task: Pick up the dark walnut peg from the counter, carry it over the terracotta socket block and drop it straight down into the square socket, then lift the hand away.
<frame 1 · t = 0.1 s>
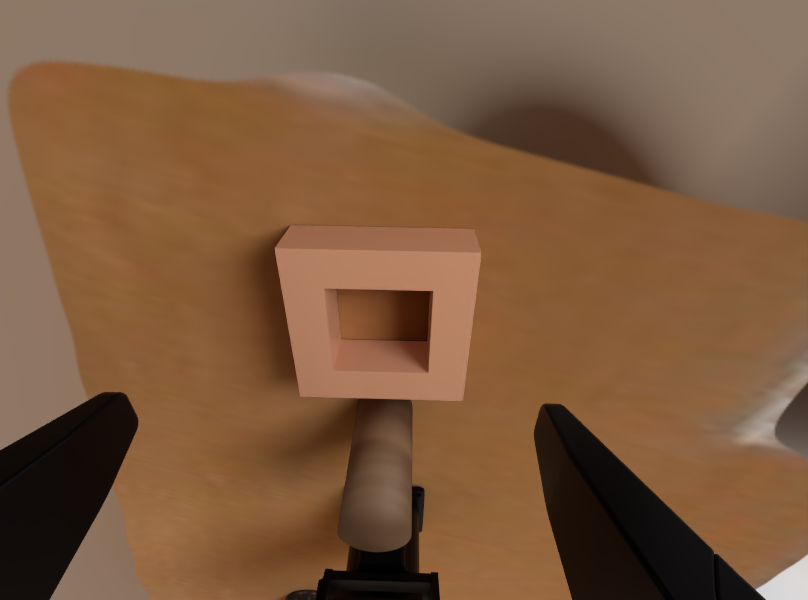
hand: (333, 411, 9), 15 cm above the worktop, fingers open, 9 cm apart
deodorant: (311, 599, 47), on the worktop
socket block: (383, 304, 25), on the worktop
peg: (385, 407, 29), on the worktop
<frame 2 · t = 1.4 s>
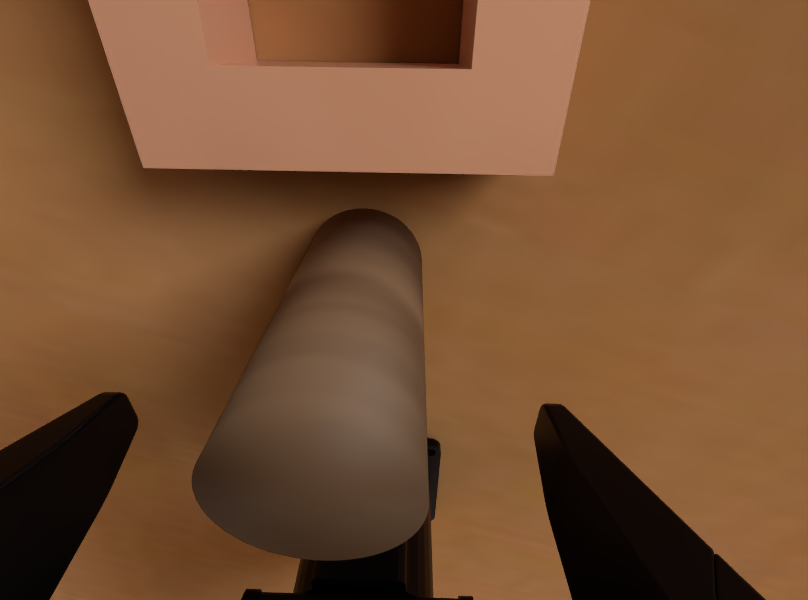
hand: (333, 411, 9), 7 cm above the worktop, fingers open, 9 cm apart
peg: (366, 262, 14), on the worktop
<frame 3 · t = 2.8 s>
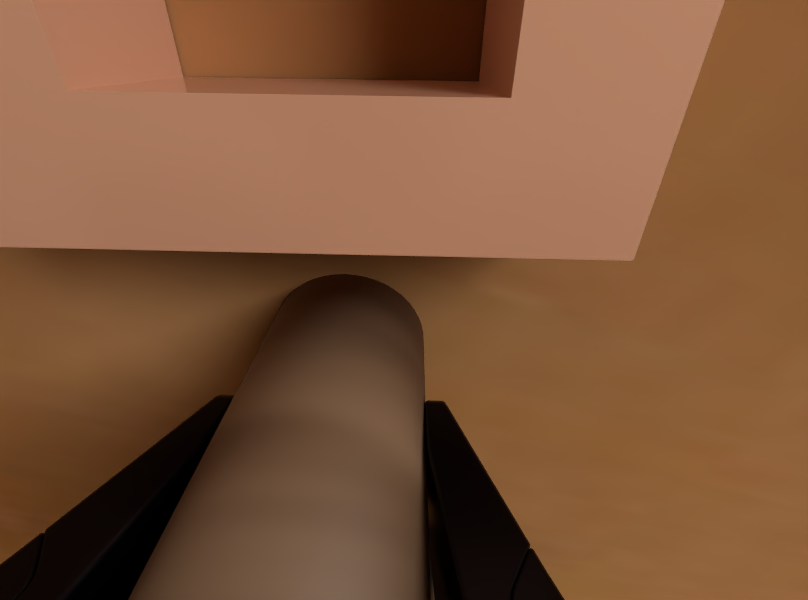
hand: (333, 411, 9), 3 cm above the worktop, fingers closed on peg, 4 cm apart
peg: (349, 339, 11), on the worktop, touching gripper
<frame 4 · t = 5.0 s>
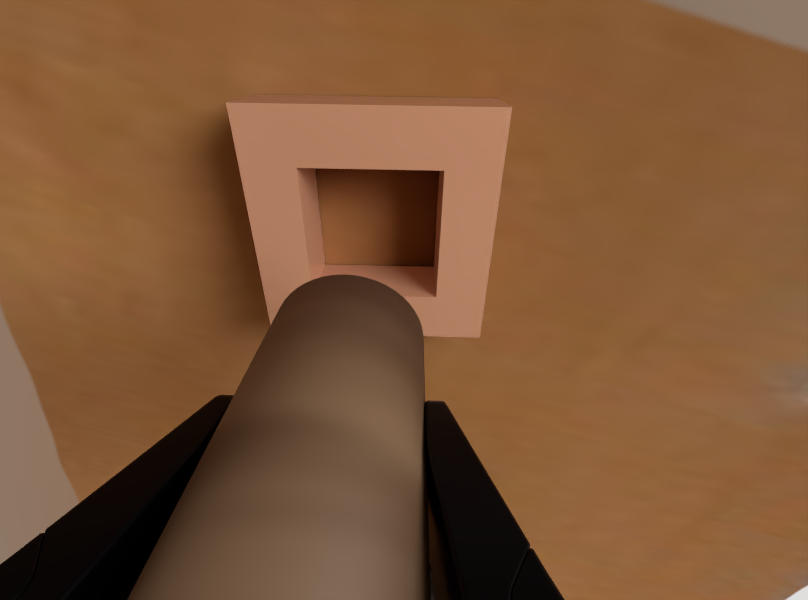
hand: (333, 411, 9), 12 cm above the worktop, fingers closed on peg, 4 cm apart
socket block: (378, 213, 19), on the worktop
peg: (349, 339, 11), point 10 cm above the worktop, touching gripper
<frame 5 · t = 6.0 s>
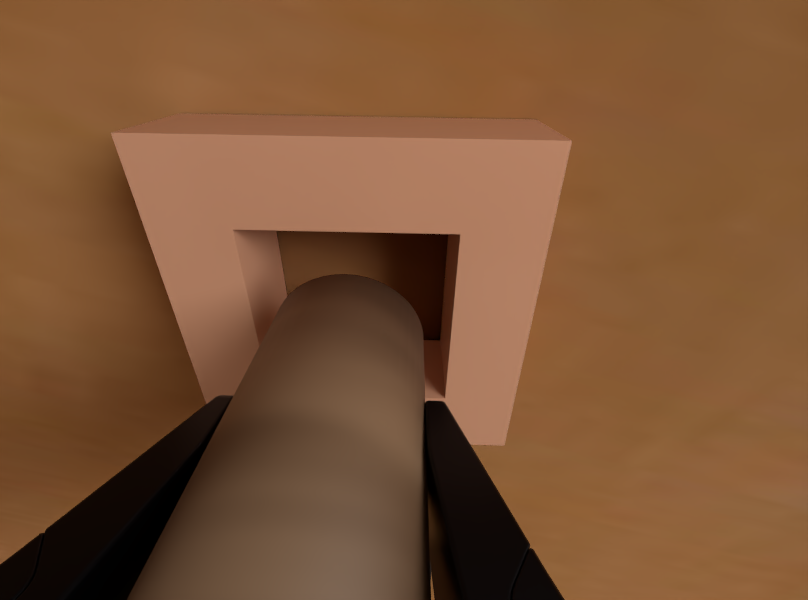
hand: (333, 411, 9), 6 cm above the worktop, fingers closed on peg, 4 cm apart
socket block: (363, 274, 14), on the worktop
peg: (349, 339, 11), point 4 cm above the worktop, touching gripper
when the fingers open (4 cm above the worktop, at t = 7.1 s): peg drops 2 cm, resting in socket block.
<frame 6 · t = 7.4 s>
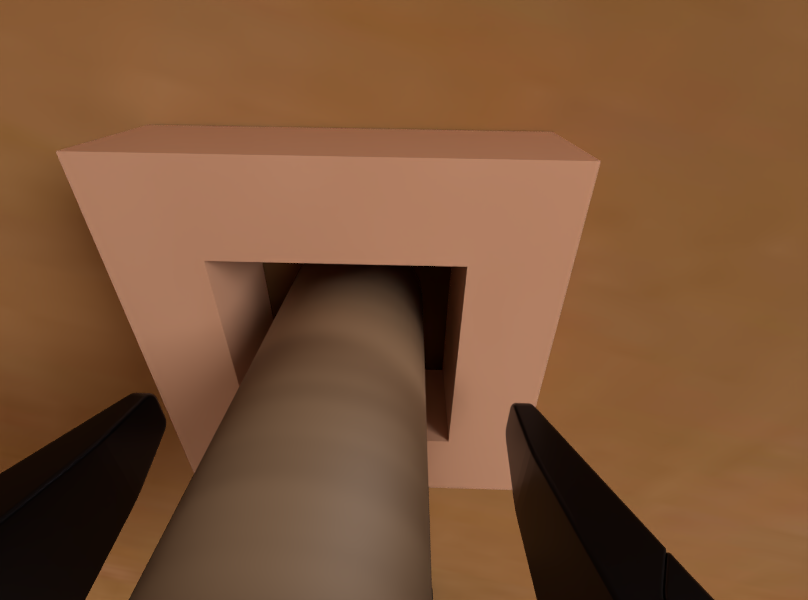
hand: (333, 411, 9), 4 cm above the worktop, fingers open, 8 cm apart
socket block: (358, 300, 13), on the worktop
peg: (358, 299, 13), resting in socket block
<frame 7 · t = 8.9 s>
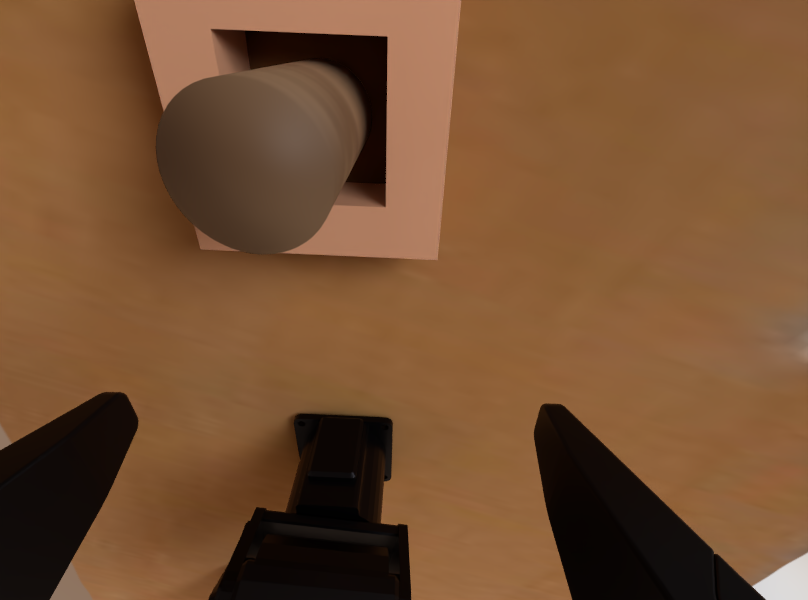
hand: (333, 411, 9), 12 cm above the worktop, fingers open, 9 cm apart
socket block: (323, 114, 17), on the worktop
peg: (324, 114, 17), resting in socket block
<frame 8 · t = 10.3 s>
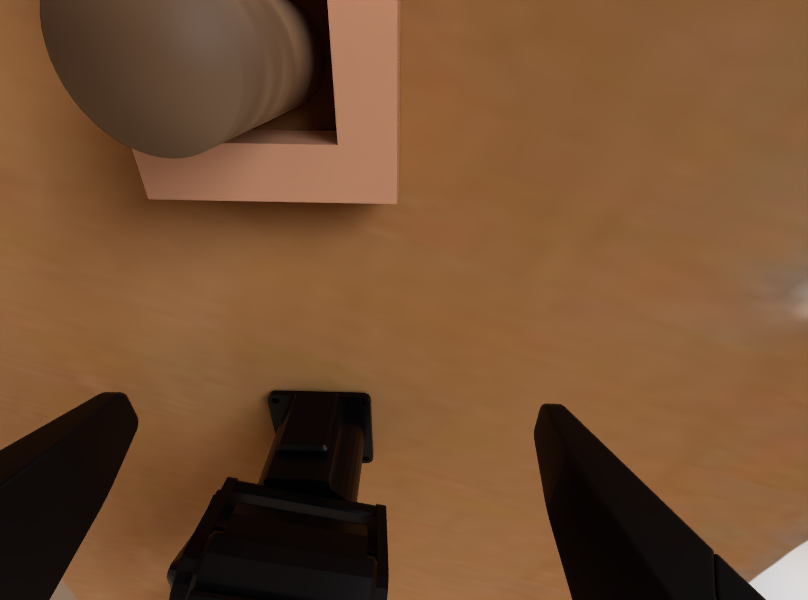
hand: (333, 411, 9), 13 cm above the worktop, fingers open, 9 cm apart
socket block: (274, 54, 16), on the worktop
peg: (274, 54, 16), resting in socket block
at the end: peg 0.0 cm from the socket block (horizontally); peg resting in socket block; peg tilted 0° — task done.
